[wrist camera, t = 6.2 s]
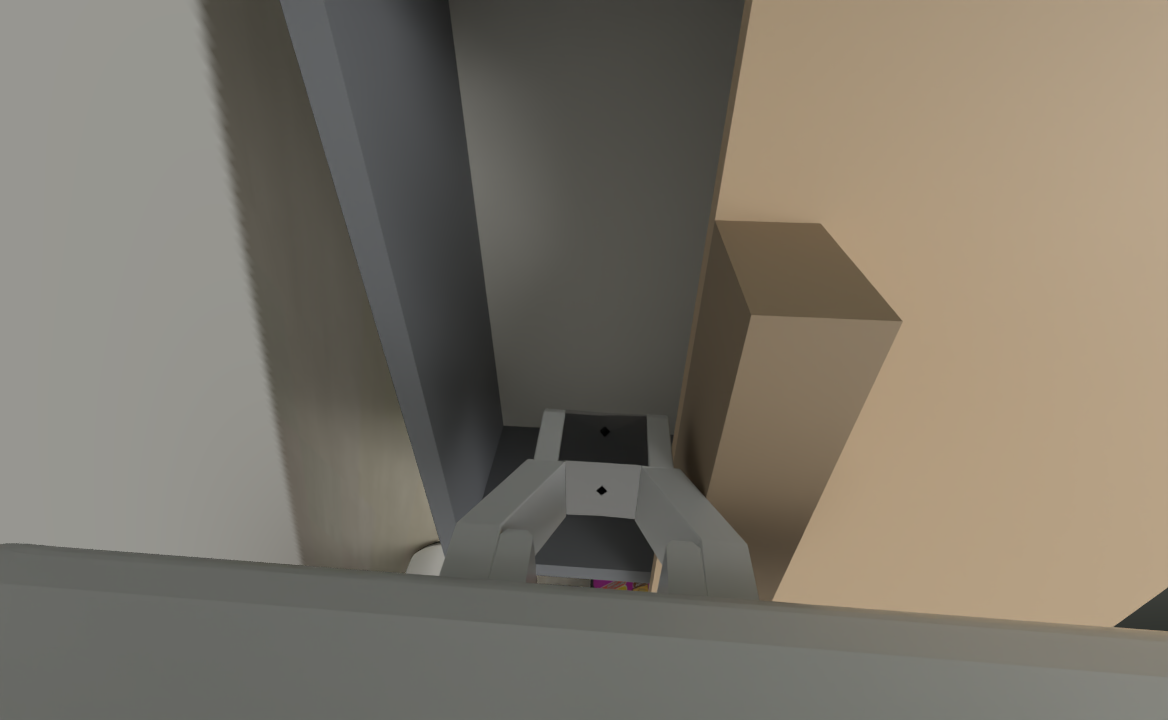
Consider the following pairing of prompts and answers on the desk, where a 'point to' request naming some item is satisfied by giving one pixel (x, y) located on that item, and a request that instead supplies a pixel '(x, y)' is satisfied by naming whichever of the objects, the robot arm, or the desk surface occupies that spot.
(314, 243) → the desk surface
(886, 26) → the lid
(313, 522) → the desk surface
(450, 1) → the grey storage bin
